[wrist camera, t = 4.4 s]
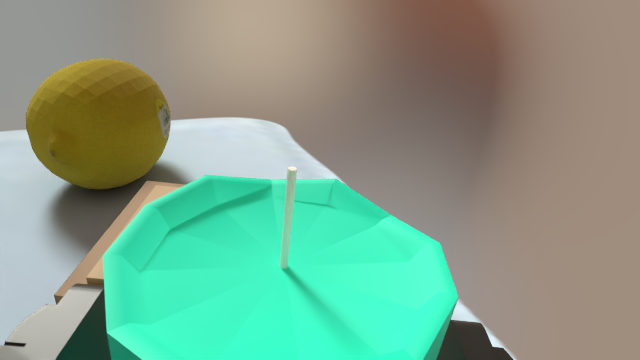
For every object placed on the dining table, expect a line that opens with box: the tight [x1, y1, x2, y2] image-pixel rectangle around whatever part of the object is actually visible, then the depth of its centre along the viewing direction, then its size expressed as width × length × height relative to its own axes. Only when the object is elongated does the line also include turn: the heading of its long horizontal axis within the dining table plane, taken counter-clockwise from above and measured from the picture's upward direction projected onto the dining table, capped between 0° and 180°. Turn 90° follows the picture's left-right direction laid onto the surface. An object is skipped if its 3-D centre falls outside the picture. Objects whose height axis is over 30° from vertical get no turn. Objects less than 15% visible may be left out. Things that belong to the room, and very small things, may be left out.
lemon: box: [26, 59, 170, 189], centre depth 28 cm, size 11×8×8 cm
